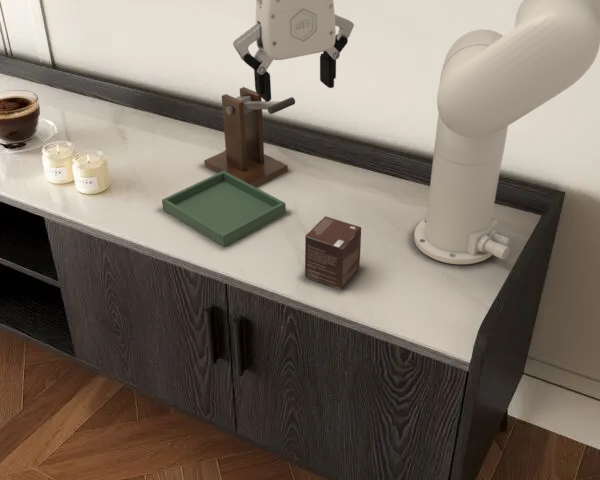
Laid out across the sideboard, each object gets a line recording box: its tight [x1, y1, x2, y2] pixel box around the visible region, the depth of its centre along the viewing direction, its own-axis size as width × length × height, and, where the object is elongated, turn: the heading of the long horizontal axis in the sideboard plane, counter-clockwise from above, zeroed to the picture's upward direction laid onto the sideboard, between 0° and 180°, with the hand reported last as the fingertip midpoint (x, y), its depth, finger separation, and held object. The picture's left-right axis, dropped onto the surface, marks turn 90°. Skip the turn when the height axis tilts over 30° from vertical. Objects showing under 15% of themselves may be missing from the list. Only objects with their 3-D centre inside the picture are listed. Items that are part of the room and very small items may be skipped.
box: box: [304, 216, 362, 290], centre depth 108 cm, size 6×6×7 cm
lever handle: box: [235, 95, 296, 115], centre depth 124 cm, size 12×5×2 cm, turn 45°
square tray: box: [161, 171, 287, 248], centre depth 123 cm, size 15×13×2 cm
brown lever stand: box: [203, 86, 289, 188], centre depth 130 cm, size 12×9×14 cm
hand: (296, 91), depth 107 cm, fingers open, 9 cm apart
